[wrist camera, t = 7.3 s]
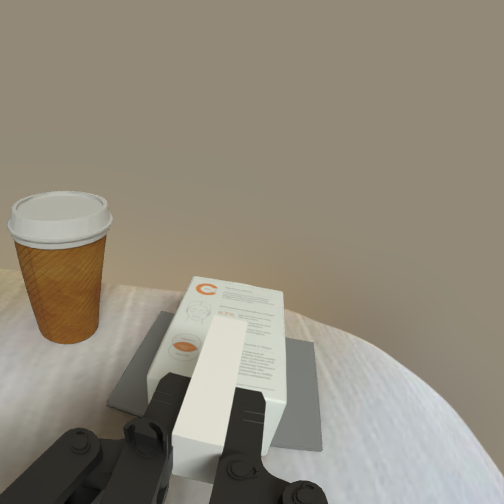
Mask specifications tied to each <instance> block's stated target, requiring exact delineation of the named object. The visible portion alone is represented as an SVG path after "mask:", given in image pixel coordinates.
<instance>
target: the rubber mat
mask: <svg viewBox="0 0 504 504" xmlns="http://www.w3.org/2000/svg"><path fill="white" fill-rule="evenodd" d="M174 315H175V314H172V313H168V312H164V311H161V313H160V314H159V316H158V318H157V319H156V321H155V323H154V324H153V326H152V327H151V329H150V331H149V332H148V334H147V336H146V337H145V339H144V341H143V342H142V344H141V345H140V347H139V349H138V350H137V352H136V354H135V355H134V357H133V359H132V360H131V362H130V364H129V366H128V367H127V369H126V371H125V372H124V374H123V376H122V377H121V379H120V381H119V382H118V384H117V386H116V388H115V389H114V391H113V393H112V395H111V396H110V398H109V400H108V401H107V406H110V407H113V408H116V409H119V410H122V411H124V412H127V413H130V414H133V415H137V416H140V417H143V416H144V414H145V411H146V409H147V407H148V405H149V404H148V390H147V374H148V371H149V369H150V367H151V364H152V362H153V360H154V358H155V356H156V353H157V351H158V349H159V347H160V345H161V342H162V340H163V338H164V336H165V334H166V332H167V330H168V327H169V325H170V323H171V321H172V319H173V317H174ZM285 346H286V385H287V403H286V406H285V409H284V411H283V414H282V416H281V419H280V422H279V424H278V427H277V429H276V431H275V434H274V436H273V439H272V441H271V444H270V446H273V447H281V448H289V449H298V450H308V451H320V452H321V451H322V450H323V449H322V434H321V420H320V407H319V395H318V383H317V373H316V362H315V352H314V342H308V341H302V340H296V339H291V338H285Z"/></svg>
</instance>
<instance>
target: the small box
mask: <svg viewBox="0 0 504 504" xmlns="http://www.w3.org/2000/svg"><path fill="white" fill-rule="evenodd" d="M283 305H284V304H283V292H281V291H276V290H271V289H266V288H260V287H254V286H251V285H246V284H242V283H236V282H228V281H222V280H216V279H210V278H204V277H198V276H193V277H192V279H191V281H190V284H189V286H188V288H187V290H186V292H185V294H184V296H183V298H182V300H181V302H180V304H179V307H178V309H177V311H176V313H175V315H174V317H173V319H172V321H171V323H170V325H169V327H168V330H167V332H166V334H165V336H164V338H163V340H162V342H161V345H160V347H159V349H158V351H157V353H156V356H155V358H154V360H153V362H152V364H151V367H150V369H149V371H148V374H147V390H148V404H149V403H150V400H151V399H152V396H153V394H154V392H155V389H156V387H157V385H158V383H159V381H160V379H161V378H163V377H164V376H165V375H166V374H168V373H169V372H171V373H175V374H179V375H183V376H187V377H191V378H192V375H193V373H194V370H195V367H196V364H197V361H198V359H199V356H200V353H201V350H202V347H203V345H204V342H205V339H206V336H207V334H208V331H209V328H210V325H211V323H212V320H213V317H214V315H217V316H222V317H226V318H231V319H236V320H241V321H246V322H248V325H247V330H246V335H245V341H244V346H243V351H242V356H241V361H240V366H239V372H238V377H237V382H236V387H239V388H244V389H250V390H255V391H260V392H262V394H263V396H264V399H265V401H266V410H265V421H264V431H263V442H262V452H261V456H265V455H266V454H267V451H268V449H269V446H270V444H271V441H272V439H273V436H274V434H275V431H276V429H277V427H278V424H279V422H280V419H281V416H282V414H283V411H284V409H285V406H286V403H287V385H286V346H285V327H284V306H283Z"/></svg>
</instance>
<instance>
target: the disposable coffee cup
mask: <svg viewBox="0 0 504 504" xmlns="http://www.w3.org/2000/svg"><path fill="white" fill-rule="evenodd" d="M112 221H113V217H112V215H111V213H110V212H109V208H108V203H107V201H106V200H105V199H104V198H102V197H100V196H97V195H95V194H90V193H86V192H77V191H54V192H45V193H40V194H35V195H31V196H28V197H25V198H23V199H21V200H19V201H17V202H16V203H15V204H14V205H13V206H12V209H11V217H10V219H9V221H8V223H7V226H8V230H9V231H10V233H11V236H12V238H13V239H14V242H15V247H16V251H17V255H18V259H19V263H20V267H21V271H22V275H23V278H24V282H25V286H26V289H27V293H28V296H29V299H30V302H31V305H32V309H33V312H34V315H35V317H36V321H37V323H38V326H39V329H40V332H41V333H42V335H43V336H44V337H45V338H47V339H48V340H50V341H53V342H55V343H60V344H73V343H78V342H81V341H83V340H86V339H88V338H89V337H90V336H92V335H93V334H94V333H95V331H96V330H97V328H98V319H99V302H100V290H101V279H102V268H103V259H104V250H105V243H106V235H107V233H108V231H109V227H110V226H111V224H112Z"/></svg>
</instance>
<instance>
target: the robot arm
mask: <svg viewBox="0 0 504 504" xmlns="http://www.w3.org/2000/svg"><path fill="white" fill-rule="evenodd" d="M247 325H248V322H246V321H241V320H236V319H231V318H226V317H222V316H217V315H214V317H213V320H212V323H211V325H210V328H209V331H208V334H207V336H206V339H205V342H204V345H203V347H202V350H201V353H200V356H199V359H198V361H197V364H196V367H195V370H194V373H193V375H192V378H191V377H187V376H183V375H179V374H175V373H171V372H169V373H168V374H166V375H165V376H164V377H163V378H161V379H160V381H159V383H158V385H157V387H156V389H155V392H154V394H153V396H152V399H151V400H150V403H149V405H148V407H147V409H146V411H145V414H144V416H143V417H142V418H136V419H133V420H131V421H129V422H128V423H127V424H126V425H125V426H124V428H123V429H124V434H125V439H121V440H111V439H99V438H98V437H97V436H96V435H95V434H94V433H93V432H91V431H89V430H87V429H84V428H75V429H70V430H69V431H67V432H66V433H64V434H63V435H62V436H61V437H60V438H59V439H58V440H57V441H56V442H55V443H54V444H53V445H52V446H51V447H50V448H49V449H48V450H46V451H45V452H44V453H43V454H42V455H41V456H40V457H39V458H38V459H37V460H36V461H35V462H34V463H33V464H32V465H31V466H30V467H29V468H28V469H27V470H26V471H25V472H24V473H23V474H21V475H20V476H19V477H18V478H17V479H16V480H15V481H14V482H13V483H12V484H11V485H10V486H9V487H8V488H7V489H6V490H5V491H4V492H3V493H2V494H1V495H0V504H98V503H99V502H100V503H99V504H164V501H165V498H166V495H167V491H168V488H169V478H170V475H171V472H172V474H174V475H177V476H181V477H185V478H189V479H193V480H198V481H202V482H207V483H212V484H213V489H212V494H211V498H210V502H209V504H328V502H327V499H326V496H325V494H324V492H323V490H322V488H320V487H319V486H318V485H317V484H315V483H313V482H310V481H301V480H299V481H296V482H292V483H289V482H287V481H284V480H282V479H279V478H277V477H275V476H273V475H271V474H270V473H269V472H268V471H267V470H266V469H265V467H264V466H263V464H262V461H261V452H262V442H263V431H264V421H265V410H266V401H265V399H264V396H263V394H262V392H260V391H255V390H250V389H244V388H239V387H236V382H237V377H238V372H239V366H240V361H241V356H242V351H243V346H244V341H245V335H246V330H247ZM100 500H101V501H100Z"/></svg>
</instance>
